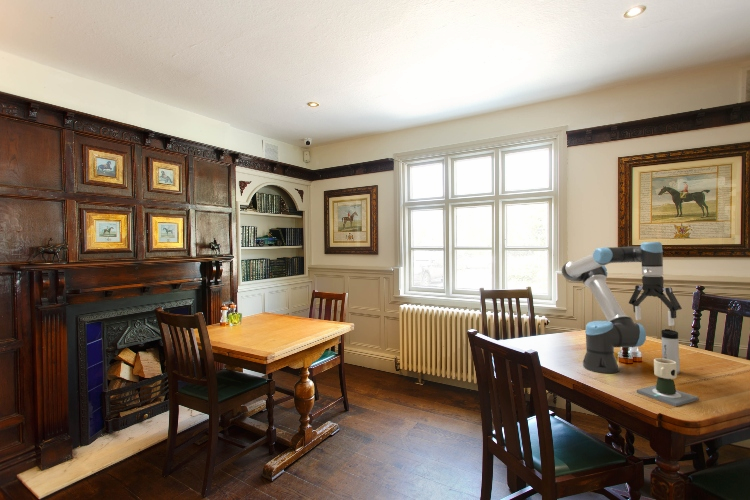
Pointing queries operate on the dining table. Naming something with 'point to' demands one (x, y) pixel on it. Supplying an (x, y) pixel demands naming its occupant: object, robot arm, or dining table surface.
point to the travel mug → (670, 346)
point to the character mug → (665, 375)
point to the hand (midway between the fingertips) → (654, 322)
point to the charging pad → (668, 396)
